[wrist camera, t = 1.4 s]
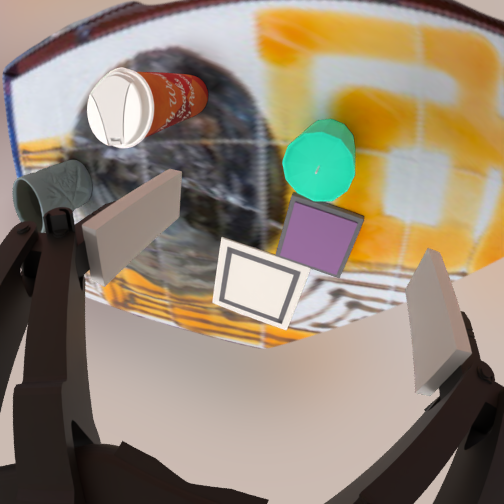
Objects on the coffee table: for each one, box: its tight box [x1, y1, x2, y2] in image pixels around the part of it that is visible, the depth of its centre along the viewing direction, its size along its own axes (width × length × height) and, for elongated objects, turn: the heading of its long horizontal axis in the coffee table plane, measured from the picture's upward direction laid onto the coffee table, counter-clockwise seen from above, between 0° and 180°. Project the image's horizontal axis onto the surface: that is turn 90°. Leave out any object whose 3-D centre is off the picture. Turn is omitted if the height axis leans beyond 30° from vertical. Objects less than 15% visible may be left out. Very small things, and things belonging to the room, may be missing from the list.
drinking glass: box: [13, 160, 92, 233], centre depth 42 cm, size 10×10×12 cm
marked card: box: [212, 237, 311, 330], centre depth 45 cm, size 13×13×1 cm
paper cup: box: [87, 68, 208, 148], centre depth 28 cm, size 8×8×14 cm
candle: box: [282, 119, 355, 201], centre depth 27 cm, size 6×6×12 cm
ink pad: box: [275, 192, 364, 278], centre depth 37 cm, size 9×9×1 cm
